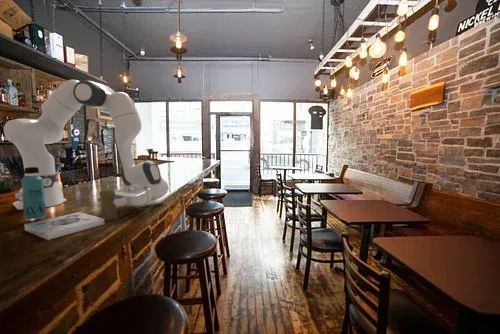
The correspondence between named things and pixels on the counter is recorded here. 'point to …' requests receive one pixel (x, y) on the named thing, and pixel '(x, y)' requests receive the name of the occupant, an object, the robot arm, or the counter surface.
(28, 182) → the beverage bottle
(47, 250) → the counter surface
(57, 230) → the jig plate
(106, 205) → the olive peg doll
